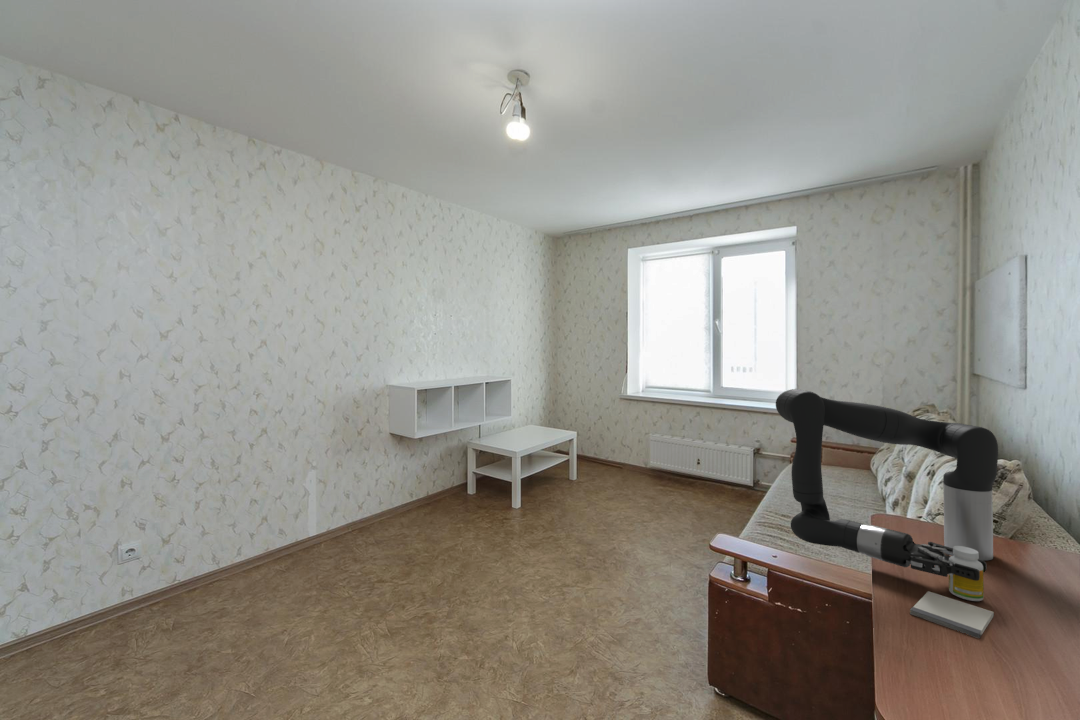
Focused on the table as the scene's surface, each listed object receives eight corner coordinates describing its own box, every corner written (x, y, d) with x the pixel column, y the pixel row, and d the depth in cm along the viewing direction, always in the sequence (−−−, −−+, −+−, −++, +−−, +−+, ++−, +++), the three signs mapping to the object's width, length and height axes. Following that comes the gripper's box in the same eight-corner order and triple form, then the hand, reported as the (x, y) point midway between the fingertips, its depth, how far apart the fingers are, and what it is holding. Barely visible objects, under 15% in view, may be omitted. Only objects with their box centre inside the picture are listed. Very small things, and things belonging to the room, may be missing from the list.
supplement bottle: (990, 603, 93) (990, 556, 93) (960, 600, 94) (959, 554, 94) (971, 589, 98) (971, 545, 98) (942, 587, 99) (942, 543, 99)
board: (928, 594, 97) (928, 590, 97) (993, 615, 89) (993, 611, 89) (910, 614, 90) (910, 609, 90) (979, 638, 82) (979, 633, 82)
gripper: (873, 536, 103) (974, 563, 90) (894, 521, 112) (990, 544, 98) (873, 568, 103) (974, 600, 90) (895, 552, 112) (990, 578, 98)
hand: (982, 571), depth 94 cm, fingers closed on supplement bottle, 5 cm apart
